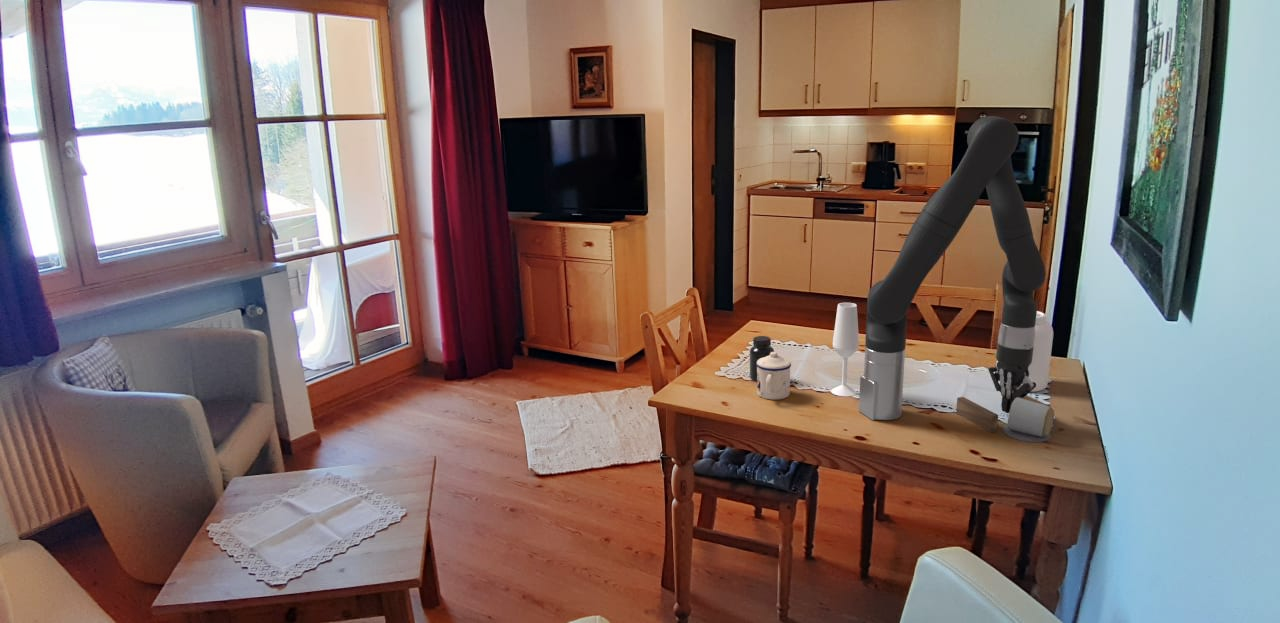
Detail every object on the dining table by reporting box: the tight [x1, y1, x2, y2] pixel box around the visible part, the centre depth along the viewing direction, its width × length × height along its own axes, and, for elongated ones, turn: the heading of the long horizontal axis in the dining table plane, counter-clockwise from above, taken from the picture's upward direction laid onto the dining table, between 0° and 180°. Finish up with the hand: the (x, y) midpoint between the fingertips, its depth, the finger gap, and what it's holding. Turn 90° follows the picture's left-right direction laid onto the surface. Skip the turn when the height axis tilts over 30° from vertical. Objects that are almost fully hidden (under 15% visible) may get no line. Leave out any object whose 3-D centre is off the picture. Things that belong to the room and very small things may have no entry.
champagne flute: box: [830, 302, 860, 397], centre depth 195 cm, size 7×7×24 cm
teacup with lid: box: [756, 351, 792, 401], centre depth 196 cm, size 12×9×12 cm
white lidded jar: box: [995, 310, 1054, 393], centre depth 196 cm, size 12×12×20 cm
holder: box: [955, 390, 1051, 433], centre depth 178 cm, size 16×12×4 cm
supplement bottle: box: [749, 335, 775, 383], centre depth 209 cm, size 7×7×12 cm
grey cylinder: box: [1006, 397, 1055, 437], centre depth 170 cm, size 11×8×8 cm
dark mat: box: [1001, 423, 1052, 443], centre depth 170 cm, size 10×10×1 cm
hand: (1007, 411), depth 177 cm, fingers closed
